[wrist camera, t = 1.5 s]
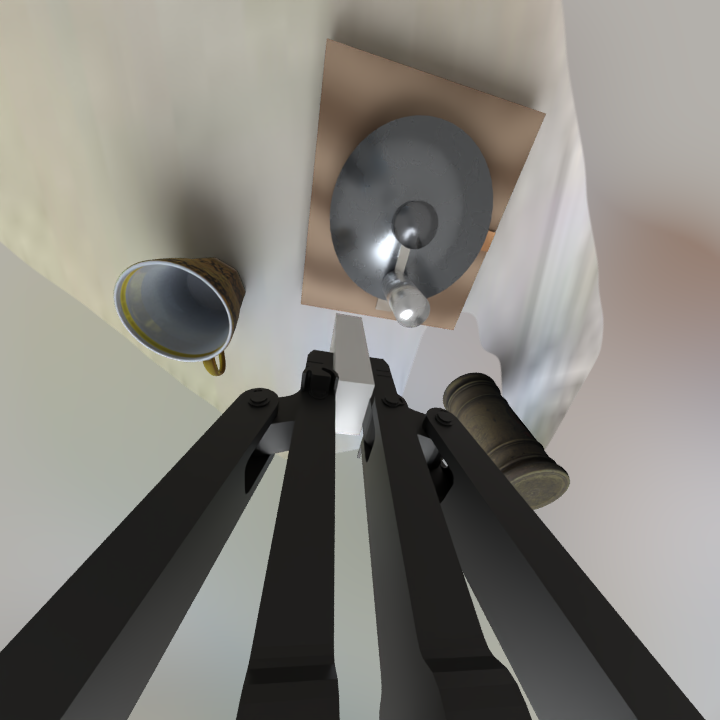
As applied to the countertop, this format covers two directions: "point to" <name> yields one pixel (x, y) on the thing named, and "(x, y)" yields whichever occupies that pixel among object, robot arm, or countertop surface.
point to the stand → (374, 109)
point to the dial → (411, 212)
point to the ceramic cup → (181, 307)
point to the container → (505, 439)
